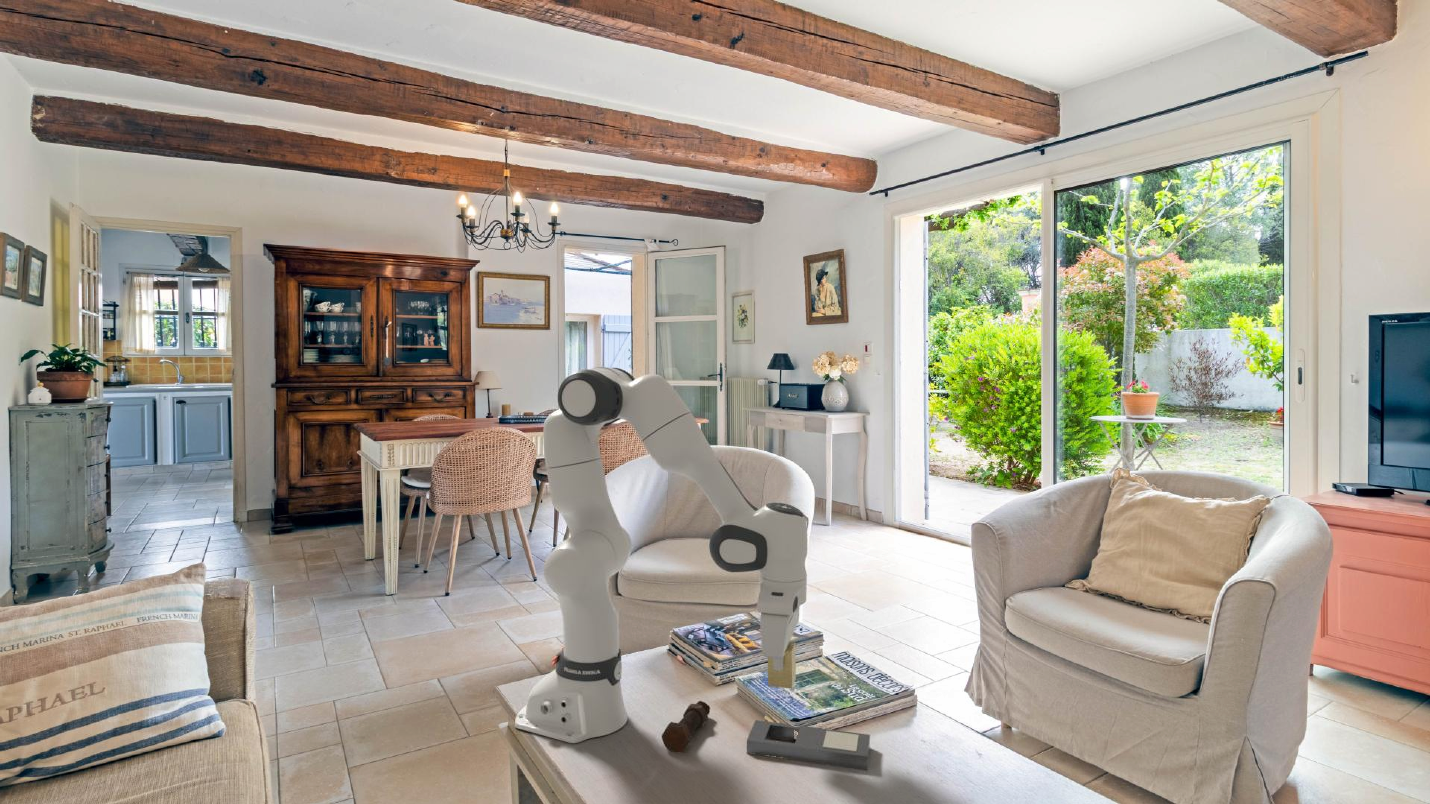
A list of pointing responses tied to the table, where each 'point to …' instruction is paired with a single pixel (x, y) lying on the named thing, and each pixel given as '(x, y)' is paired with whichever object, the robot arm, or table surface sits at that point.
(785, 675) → the tan block
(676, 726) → the bolt
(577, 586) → the robot arm
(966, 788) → the table surface
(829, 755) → the plate
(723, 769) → the table surface
